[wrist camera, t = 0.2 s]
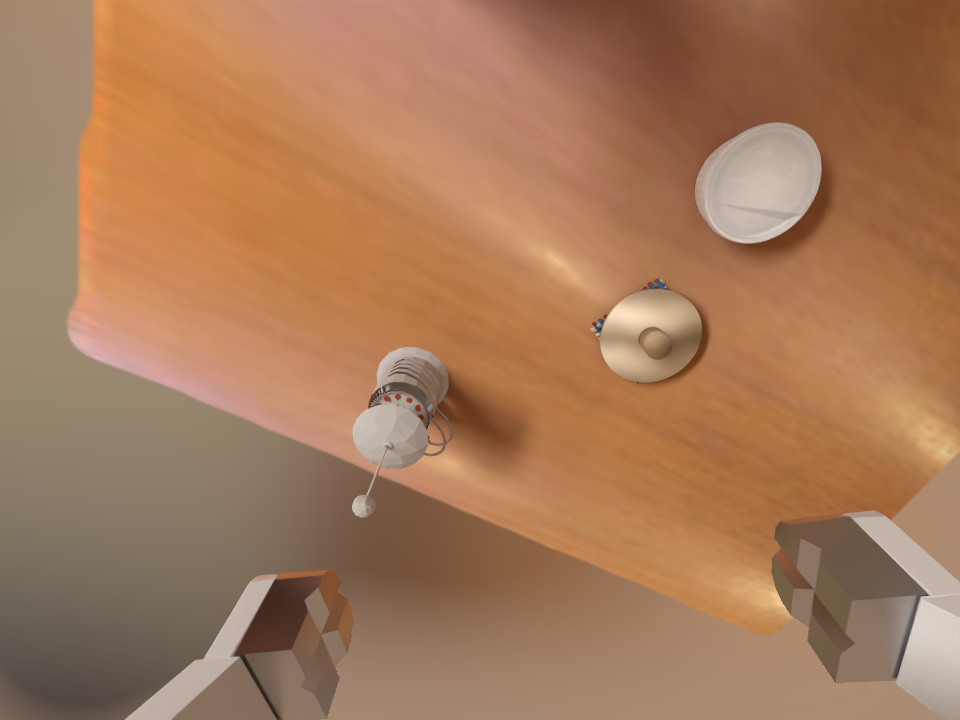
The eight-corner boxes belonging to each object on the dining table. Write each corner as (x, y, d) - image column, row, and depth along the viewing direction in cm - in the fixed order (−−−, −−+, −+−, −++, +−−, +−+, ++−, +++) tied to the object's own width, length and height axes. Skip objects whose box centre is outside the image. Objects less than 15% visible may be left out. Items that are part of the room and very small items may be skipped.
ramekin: (698, 252, 52) (718, 261, 47) (672, 156, 48) (692, 155, 44) (798, 211, 50) (830, 216, 45) (780, 107, 46) (813, 100, 41)
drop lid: (596, 296, 53) (603, 305, 50) (701, 281, 52) (715, 289, 49) (602, 385, 58) (608, 399, 55) (697, 373, 57) (710, 387, 53)
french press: (398, 332, 57) (332, 444, 35) (474, 378, 60) (460, 510, 37) (363, 389, 61) (283, 524, 38) (437, 430, 63) (402, 581, 40)
